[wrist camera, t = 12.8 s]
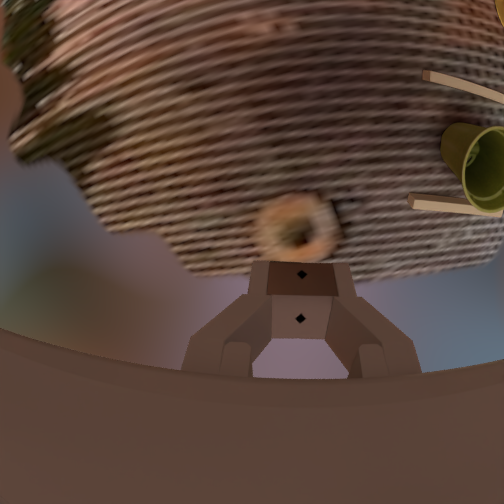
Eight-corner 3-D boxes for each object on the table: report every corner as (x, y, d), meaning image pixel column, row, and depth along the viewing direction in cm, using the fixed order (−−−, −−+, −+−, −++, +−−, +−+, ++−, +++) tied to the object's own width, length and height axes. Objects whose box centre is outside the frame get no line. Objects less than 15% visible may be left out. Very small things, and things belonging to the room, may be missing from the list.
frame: (422, 69, 24) (430, 70, 22) (515, 100, 23) (524, 103, 21) (407, 201, 33) (412, 208, 32) (494, 210, 32) (501, 217, 30)
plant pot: (453, 195, 32) (486, 229, 25) (413, 143, 29) (447, 168, 22) (496, 150, 27) (536, 176, 20) (460, 93, 25) (503, 107, 17)
